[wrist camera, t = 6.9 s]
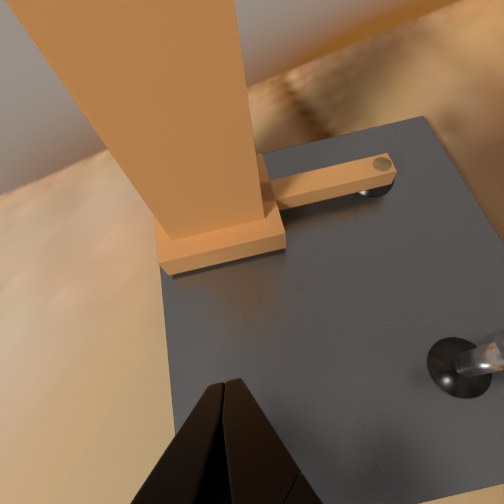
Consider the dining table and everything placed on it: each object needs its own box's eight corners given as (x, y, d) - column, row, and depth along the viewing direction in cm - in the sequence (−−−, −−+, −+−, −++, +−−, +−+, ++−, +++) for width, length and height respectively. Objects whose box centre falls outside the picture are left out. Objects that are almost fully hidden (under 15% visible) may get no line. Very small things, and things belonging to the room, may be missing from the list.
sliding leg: (403, 219, 17) (1292, -1331, 2) (168, 275, 17) (-788, -802, 2) (367, 146, 19) (640, -822, 4) (160, 195, 19) (-308, -583, 4)
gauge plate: (611, 450, 13) (840, 476, 7) (193, 547, 13) (123, 641, 8) (417, 128, 21) (461, 28, 15) (158, 190, 21) (111, 112, 15)
